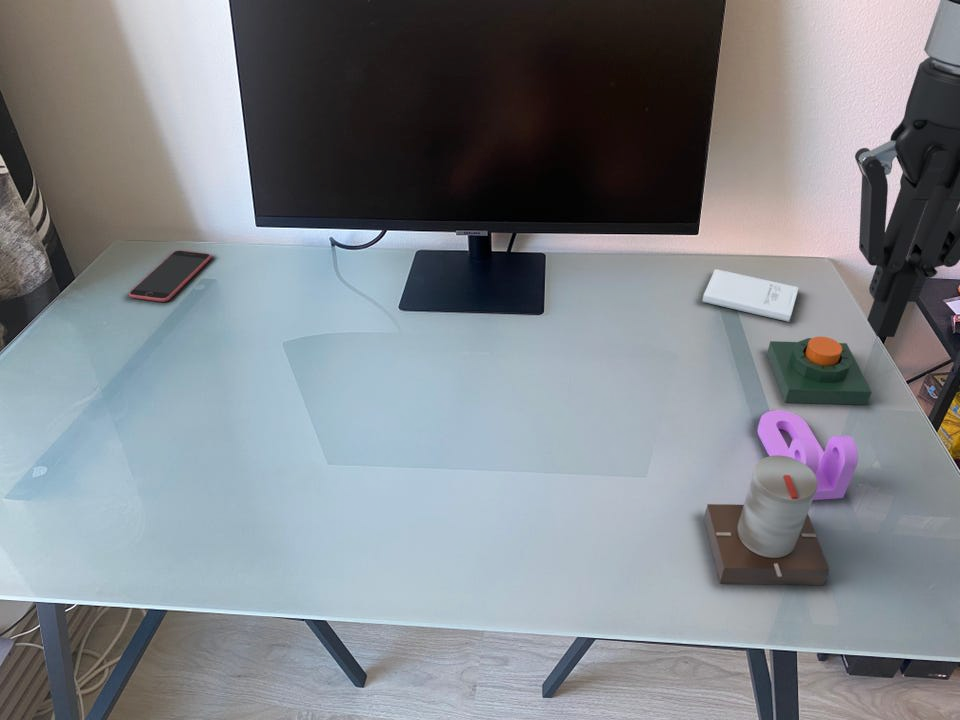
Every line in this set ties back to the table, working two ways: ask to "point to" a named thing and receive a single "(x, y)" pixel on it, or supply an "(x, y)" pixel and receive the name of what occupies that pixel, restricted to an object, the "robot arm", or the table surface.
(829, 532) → the table surface
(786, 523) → the dial
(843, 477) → the bracket
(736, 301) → the hard drive
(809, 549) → the panel
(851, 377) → the switchbox
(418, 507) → the table surface
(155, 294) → the smartphone
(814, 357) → the button
